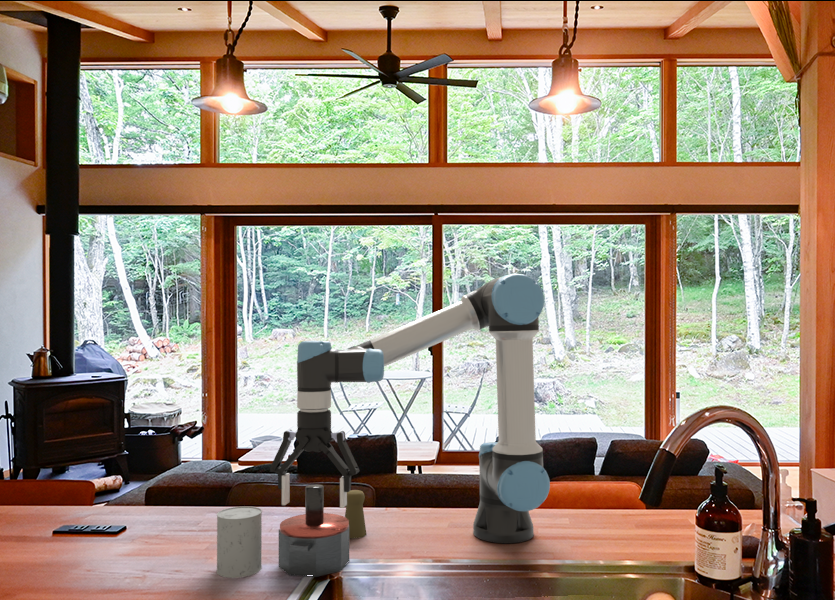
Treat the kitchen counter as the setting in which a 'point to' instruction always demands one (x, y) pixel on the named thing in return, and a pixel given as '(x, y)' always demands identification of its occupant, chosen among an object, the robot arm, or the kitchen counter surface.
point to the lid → (314, 518)
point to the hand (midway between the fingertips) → (314, 505)
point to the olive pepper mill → (355, 514)
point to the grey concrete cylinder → (239, 541)
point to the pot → (313, 554)
